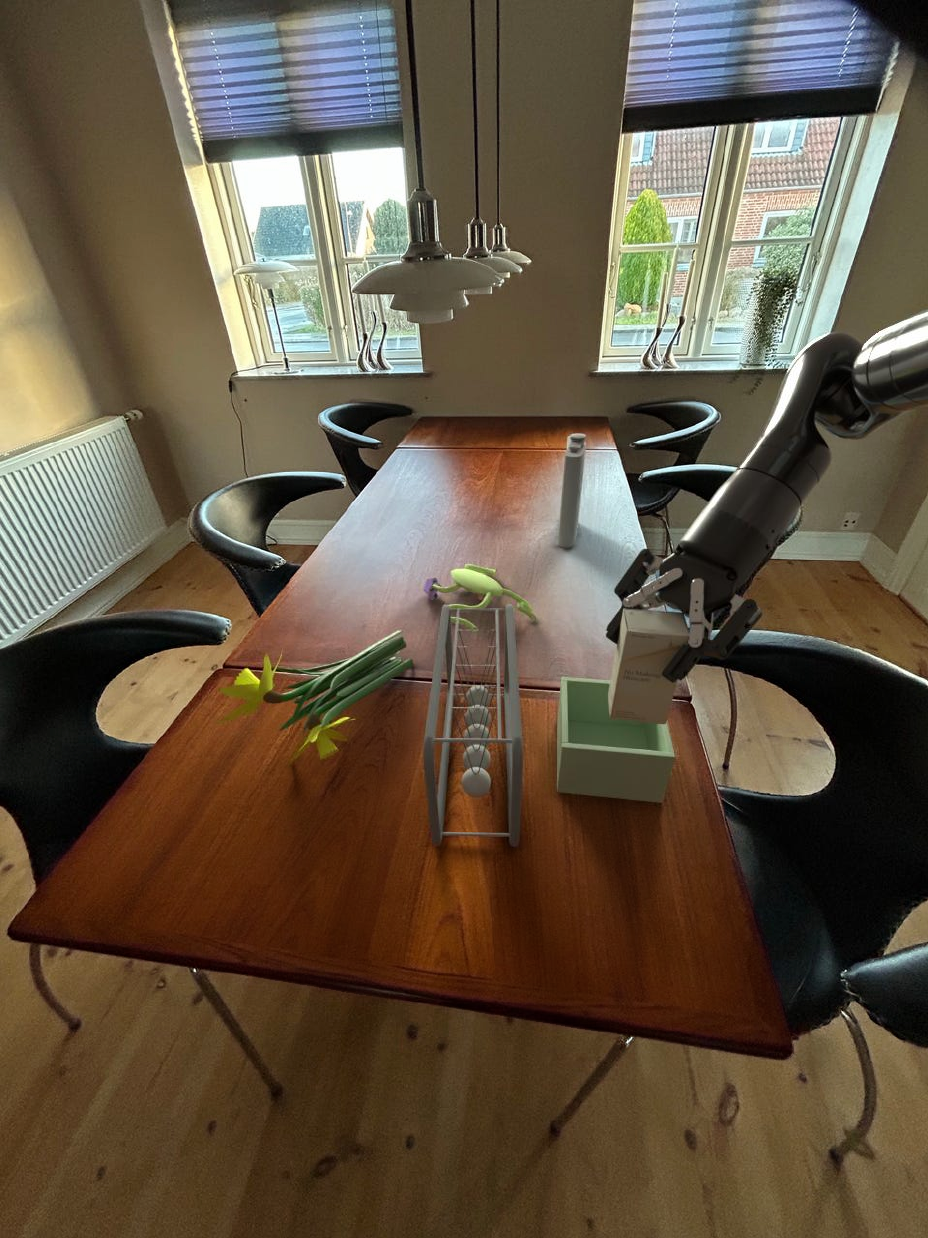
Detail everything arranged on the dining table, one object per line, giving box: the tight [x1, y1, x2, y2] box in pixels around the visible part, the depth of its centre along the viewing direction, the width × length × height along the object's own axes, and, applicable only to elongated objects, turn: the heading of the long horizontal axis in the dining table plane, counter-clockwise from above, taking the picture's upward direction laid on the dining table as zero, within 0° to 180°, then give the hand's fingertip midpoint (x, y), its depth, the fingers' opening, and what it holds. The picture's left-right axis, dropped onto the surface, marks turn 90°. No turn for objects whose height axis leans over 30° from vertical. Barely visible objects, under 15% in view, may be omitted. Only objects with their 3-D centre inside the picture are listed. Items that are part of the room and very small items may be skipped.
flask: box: [556, 433, 587, 548], centre depth 131 cm, size 17×5×25 cm, turn 168°
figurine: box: [423, 563, 537, 633], centre depth 109 cm, size 18×27×6 cm
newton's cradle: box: [422, 603, 524, 848], centre depth 71 cm, size 30×10×18 cm, turn 178°
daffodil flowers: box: [216, 629, 415, 770], centre depth 80 cm, size 17×15×35 cm
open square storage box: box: [556, 676, 676, 804], centre depth 73 cm, size 14×14×9 cm
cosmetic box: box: [608, 608, 690, 724], centre depth 57 cm, size 6×4×12 cm
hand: (638, 658), depth 55 cm, fingers closed on cosmetic box, 7 cm apart
